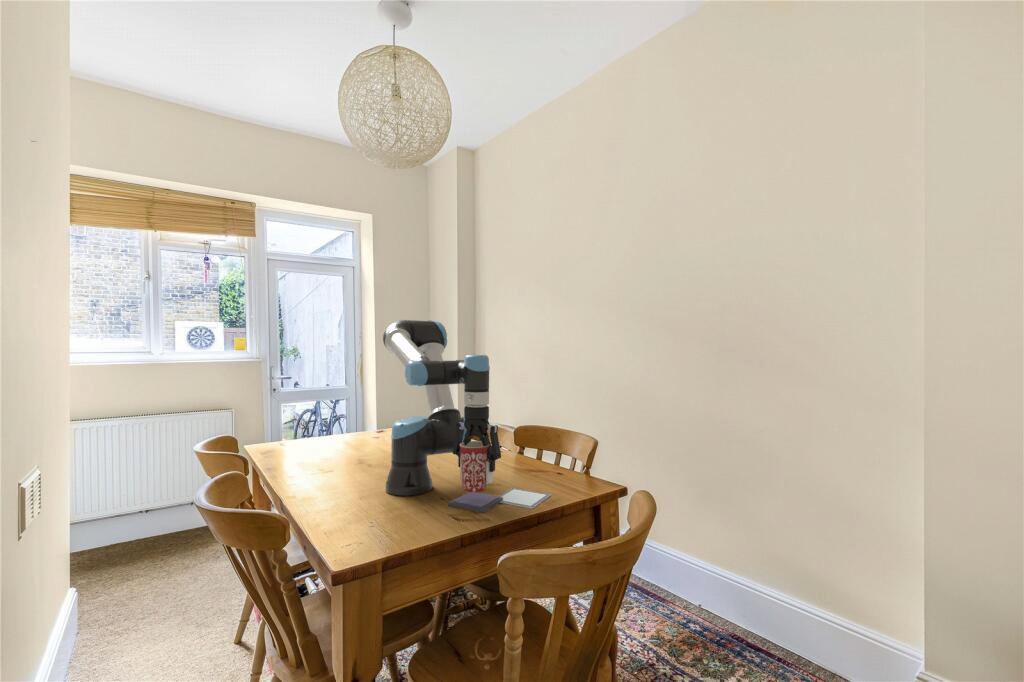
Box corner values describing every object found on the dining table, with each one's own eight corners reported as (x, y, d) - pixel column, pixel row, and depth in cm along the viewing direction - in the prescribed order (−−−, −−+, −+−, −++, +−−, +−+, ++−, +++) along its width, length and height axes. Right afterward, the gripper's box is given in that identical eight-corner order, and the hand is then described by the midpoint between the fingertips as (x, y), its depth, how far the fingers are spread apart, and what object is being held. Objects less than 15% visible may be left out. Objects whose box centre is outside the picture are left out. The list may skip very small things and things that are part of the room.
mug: (489, 493, 134) (489, 447, 134) (458, 493, 134) (458, 447, 134) (489, 481, 147) (489, 438, 147) (461, 481, 146) (461, 438, 147)
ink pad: (448, 505, 138) (448, 501, 138) (470, 494, 148) (470, 490, 148) (482, 513, 132) (482, 508, 132) (502, 500, 143) (502, 496, 143)
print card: (491, 501, 142) (491, 499, 142) (512, 488, 155) (512, 487, 155) (532, 508, 136) (532, 507, 136) (551, 495, 148) (551, 494, 148)
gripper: (440, 404, 142) (440, 478, 142) (501, 409, 132) (500, 488, 132) (455, 402, 149) (454, 472, 148) (513, 406, 139) (513, 482, 138)
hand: (476, 480), depth 140 cm, fingers closed on mug, 8 cm apart
